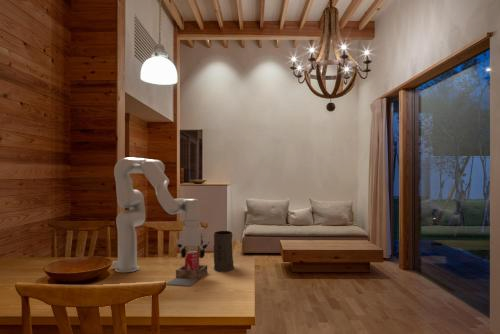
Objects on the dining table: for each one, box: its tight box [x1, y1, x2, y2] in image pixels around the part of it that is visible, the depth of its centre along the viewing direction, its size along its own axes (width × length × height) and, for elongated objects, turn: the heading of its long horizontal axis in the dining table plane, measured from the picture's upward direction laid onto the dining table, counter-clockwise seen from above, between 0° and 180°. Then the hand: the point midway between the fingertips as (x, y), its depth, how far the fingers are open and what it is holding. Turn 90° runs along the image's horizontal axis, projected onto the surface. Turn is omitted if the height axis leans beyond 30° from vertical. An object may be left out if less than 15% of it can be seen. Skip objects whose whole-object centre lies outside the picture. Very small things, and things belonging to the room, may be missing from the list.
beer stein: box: [213, 230, 235, 273], centre depth 201 cm, size 15×11×20 cm
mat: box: [166, 277, 199, 288], centre depth 175 cm, size 12×10×1 cm
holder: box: [175, 264, 208, 281], centre depth 187 cm, size 12×12×4 cm
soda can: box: [184, 250, 200, 271], centre depth 187 cm, size 7×7×12 cm
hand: (193, 257), depth 187 cm, fingers open, 9 cm apart
